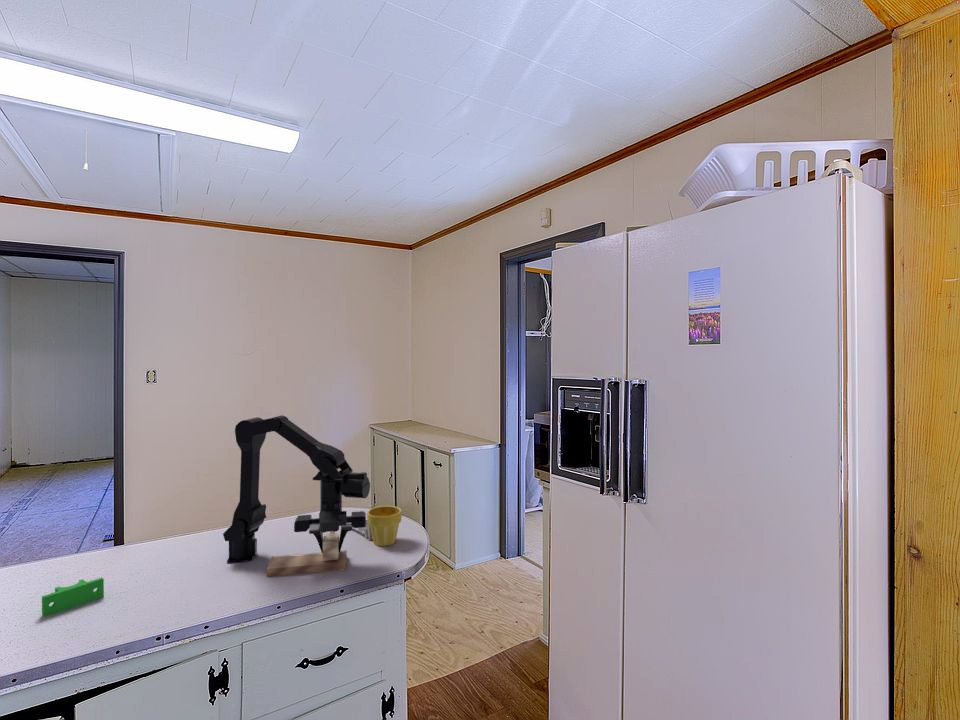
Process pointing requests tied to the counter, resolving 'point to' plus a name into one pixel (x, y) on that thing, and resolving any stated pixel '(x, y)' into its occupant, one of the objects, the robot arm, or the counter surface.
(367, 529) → the caliper
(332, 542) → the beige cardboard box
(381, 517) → the plant pot
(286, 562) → the walnut board
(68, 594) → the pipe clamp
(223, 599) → the counter surface
